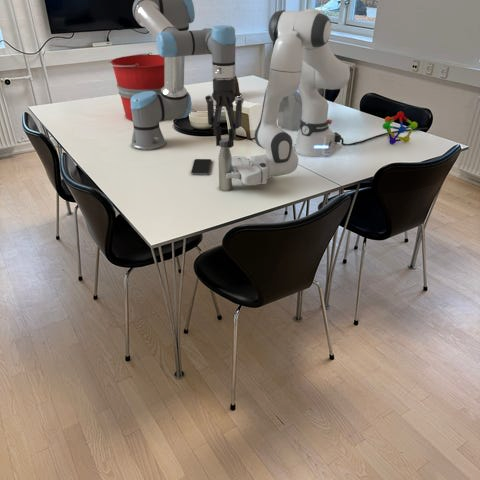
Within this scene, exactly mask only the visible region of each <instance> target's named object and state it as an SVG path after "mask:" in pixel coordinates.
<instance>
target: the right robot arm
mask: <svg viewBox="0 0 480 480" xmlns="http://www.w3.org/2000/svg"><path fill="white" fill-rule="evenodd" d="M331 34H332V21H331V19H330V18H329V16H328V15H326V14H325V13H322V12H321V11H319V10H318V9H315V8H307V9H305V10H285V9H284V10H283V9H281V10H277V11H275V12H273V14H272V15H271V17H270V19H269V22H268V35H269V38H270V40H271V42H272V43H273V48H272V52H271V58H270V65H269V73H268V80H267V85H266V89H265V91H264V97H263V101H262V106H261V107H262V108H261V114H260V119H259V122H258V125H257V127H256V129H255V131H254V142H255V143H256V145H257V146H258V147H260V148H261V149H263V150H265V153H264V154H260V155H252V156H251V157H250V158H247V157H246V156H244V155H236V156H231V157H232V173H230V172H228V173H225V177H226V178H227V179H229V178H232V180H233V179H234V180H239V181H240V182H241V183H242V184H243V185H244V186H254V185H260V184H261V185H266V184H267V183H268V178H270V177H281V176H285V175H289V174H292V173H293V172H295V171H296V170H297V168H298V167H299V156H298V154H300V155H302V156H306V157H329V156H331V155H332V154H334V153H335V152H336V151H337V150H339V149H340V148H341V145H342V146H355V145H359V144H363V143H366V142H368V141H371V140H374V139H377V138H380V137H383V136H388V132H384V133H380V134H377V135H374V136H371V137H369V138H368V137H367V138H365V139H363V140H358V141H355V142H351V143H344V142H345V140H344V138H343V137H342V135H341V134H340V133H338V132H337V131H336V132H335V131H334V132H333V130H331V129H330V128H329V125H332V124H333V120H332V119H328V113H329V103H328V100H327V99H326V98H325V96H324V97H323V95H322V96H321V95H320V94H319V93H318V91H317V88H321V89H325V90H331V91H333V90H341V89H342V90H343V89H344V88H346V86H347V85H348V83H349V80H350V78H351V71H350V68H349V66H348V64H346V63H344V62H343V61H341V60H340V59H339V58H337V57H336V56H335V54H334V53H333V51H332V50H331V47H330V43H329V40H330V37H331ZM297 89H298V91H299V93H300V96H301V100H302V119H301V120H300V129H299V130H297V135H296V141H295V143H294V144H293V138H292V136H291V135H290V134H289V133H288V132H286V131H285V130H283V129H282V128H281V127H280V126H279V125H278V120H277V116H278V111H279V106H280V102H281V100H282V99H283V98H284V97H286V96H289V95H291V94H293V93H294V92H295V91H296V90H297ZM410 129H411V128H408V129H406V130H405V132H409V131H410ZM425 130H429V129H428V127H418V128H417V127H416V128H415V129H413V130H412V132H414V131H415V132H416V131H425ZM391 132H392V133H394V134H397V133H398V132H399V130H393V131H391ZM340 143H341V144H340ZM294 148H295V149H294Z"/></svg>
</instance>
